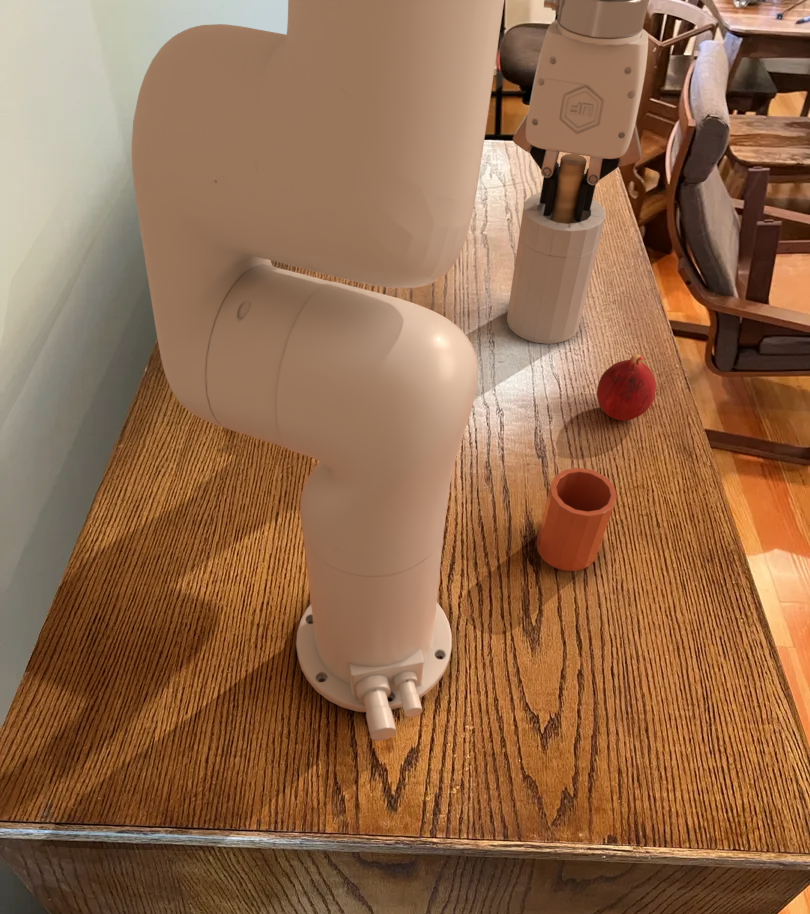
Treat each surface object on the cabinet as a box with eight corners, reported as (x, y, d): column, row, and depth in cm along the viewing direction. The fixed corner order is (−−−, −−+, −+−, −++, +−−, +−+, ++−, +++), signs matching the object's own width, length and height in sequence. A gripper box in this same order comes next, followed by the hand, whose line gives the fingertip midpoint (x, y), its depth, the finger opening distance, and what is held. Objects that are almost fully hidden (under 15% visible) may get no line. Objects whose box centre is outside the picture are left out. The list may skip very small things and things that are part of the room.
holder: (605, 569, 69) (627, 509, 62) (546, 579, 68) (563, 520, 62) (582, 524, 72) (601, 463, 66) (527, 533, 71) (541, 473, 65)
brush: (563, 319, 91) (597, 166, 77) (535, 323, 90) (563, 169, 76) (553, 302, 93) (584, 150, 79) (525, 305, 92) (550, 152, 78)
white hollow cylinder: (589, 339, 90) (617, 226, 80) (520, 347, 89) (539, 234, 78) (563, 298, 96) (586, 187, 85) (497, 305, 94) (513, 193, 84)
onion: (640, 442, 79) (662, 381, 73) (585, 429, 80) (602, 367, 74) (648, 407, 83) (669, 346, 77) (595, 395, 84) (612, 333, 78)
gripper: (503, 14, 67) (481, 217, 81) (693, 38, 64) (636, 243, 78) (520, -12, 71) (497, 184, 86) (698, 10, 69) (643, 209, 83)
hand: (563, 211), depth 82 cm, fingers closed on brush, 2 cm apart
